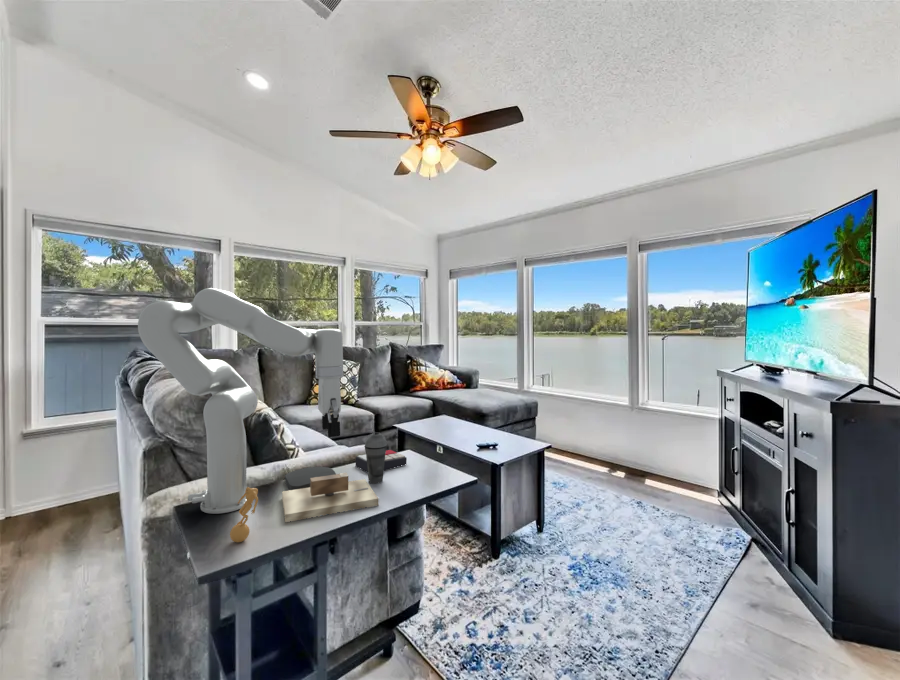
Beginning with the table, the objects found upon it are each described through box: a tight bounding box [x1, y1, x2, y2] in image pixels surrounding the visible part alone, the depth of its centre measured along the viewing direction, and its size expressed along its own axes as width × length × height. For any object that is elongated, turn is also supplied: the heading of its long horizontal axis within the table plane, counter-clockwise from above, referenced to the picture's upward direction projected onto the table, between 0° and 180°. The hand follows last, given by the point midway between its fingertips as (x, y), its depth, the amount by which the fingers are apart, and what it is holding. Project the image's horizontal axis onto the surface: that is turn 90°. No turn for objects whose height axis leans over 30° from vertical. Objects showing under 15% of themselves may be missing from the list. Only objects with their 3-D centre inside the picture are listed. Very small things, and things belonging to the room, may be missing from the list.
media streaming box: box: [284, 466, 337, 491], centre depth 128 cm, size 15×15×3 cm
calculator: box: [355, 449, 407, 473], centre depth 145 cm, size 11×4×15 cm
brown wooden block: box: [310, 472, 349, 496], centre depth 113 cm, size 10×3×5 cm, turn 115°
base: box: [281, 478, 379, 523], centre depth 114 cm, size 24×18×2 cm
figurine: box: [229, 486, 259, 543], centre depth 92 cm, size 8×6×12 cm
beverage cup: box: [363, 419, 388, 485], centre depth 129 cm, size 7×7×20 cm
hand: (330, 432), depth 113 cm, fingers open, 9 cm apart
